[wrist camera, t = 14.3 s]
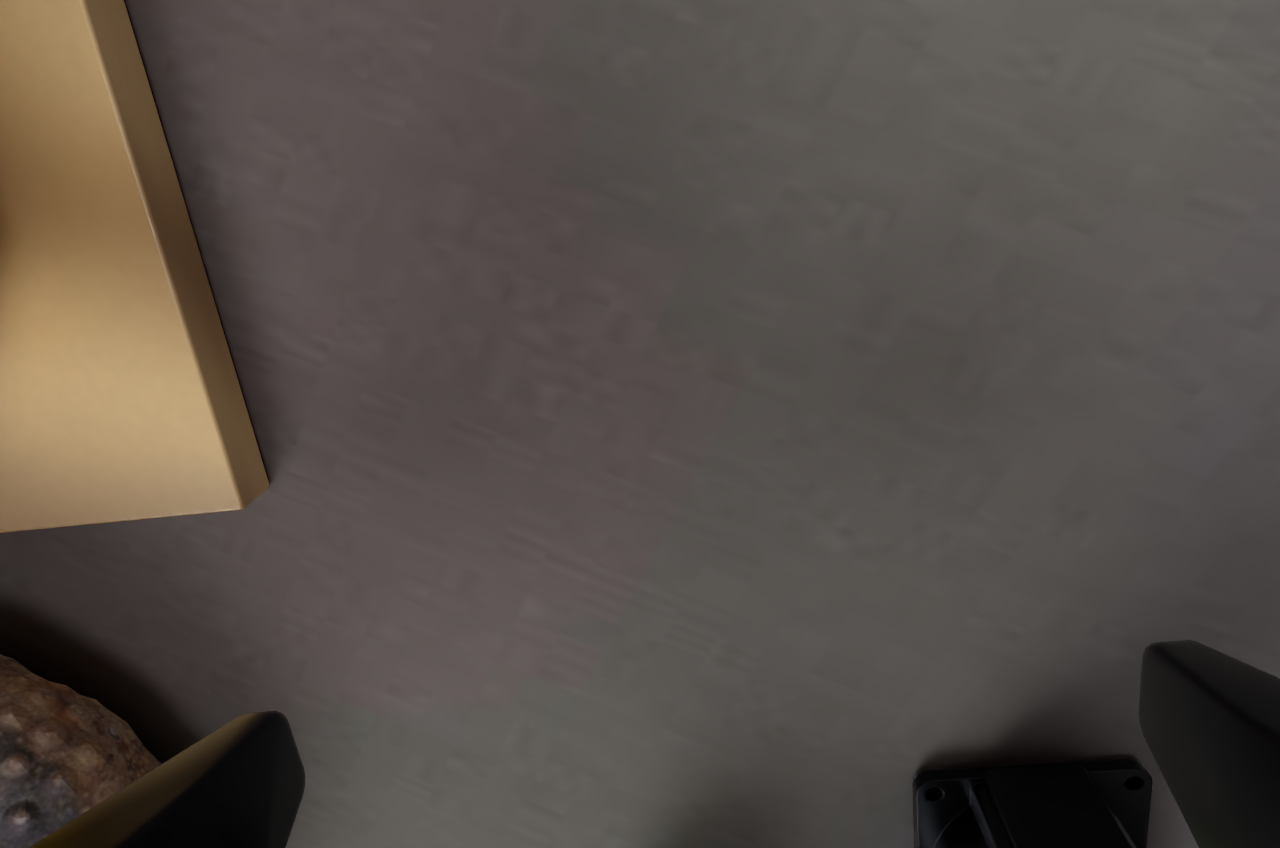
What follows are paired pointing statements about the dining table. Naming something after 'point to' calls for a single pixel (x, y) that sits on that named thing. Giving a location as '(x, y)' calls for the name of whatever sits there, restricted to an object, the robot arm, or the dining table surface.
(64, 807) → the sea urchin shell
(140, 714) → the dining table surface
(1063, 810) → the robot arm
